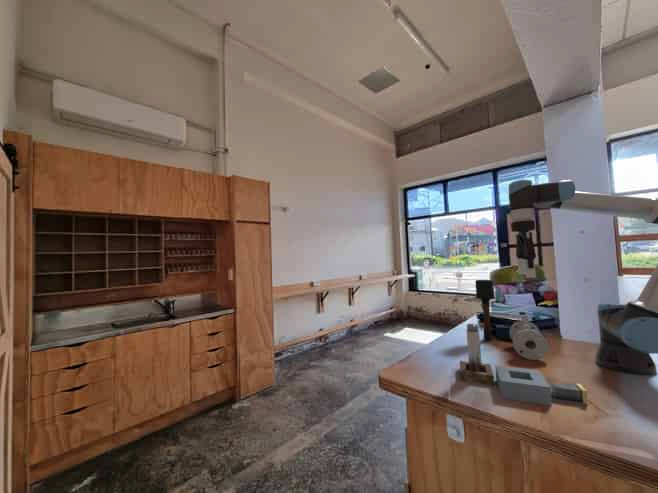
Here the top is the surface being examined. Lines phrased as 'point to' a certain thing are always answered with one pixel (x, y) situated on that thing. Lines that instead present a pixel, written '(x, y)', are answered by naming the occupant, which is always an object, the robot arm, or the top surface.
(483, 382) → the brown square frame
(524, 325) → the valve
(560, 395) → the yellow capped grey block
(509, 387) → the socket block
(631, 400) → the top surface
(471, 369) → the peg
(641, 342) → the robot arm
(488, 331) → the potato masher grenade
